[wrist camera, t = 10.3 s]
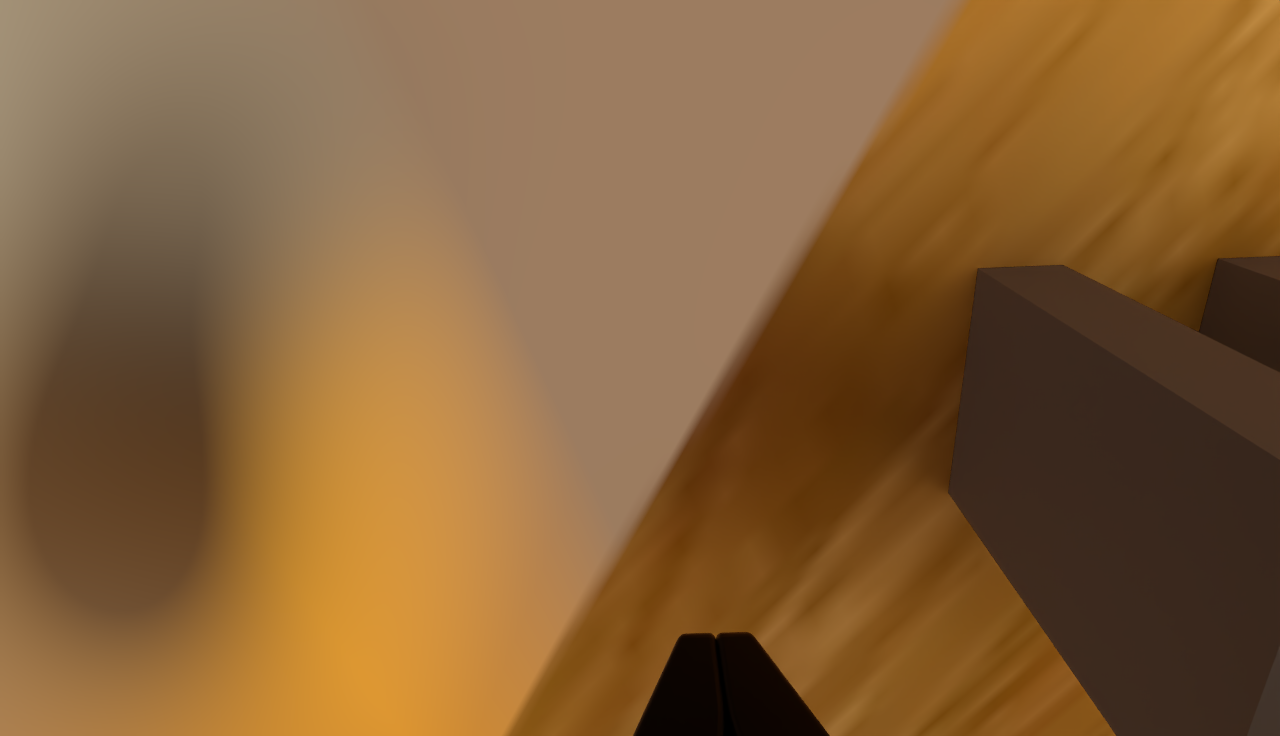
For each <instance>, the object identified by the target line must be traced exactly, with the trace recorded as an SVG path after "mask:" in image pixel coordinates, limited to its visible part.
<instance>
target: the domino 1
mask: <svg viewBox="0 0 1280 736" xmlns="http://www.w3.org/2000/svg"><path fill="white" fill-rule="evenodd" d="M948 493H949V495H950V496H951V497H952V499H953V500H954V502H955V503H956V505H957V506H958V508H959V509H960V510H961V512H962V513H963V515H964V516H965V518H966V519H967V521H968V522H969V523H970V525H971V526H972V528H973V529H974V531H975V532H976V534H977V535H978V536H979V538H980V539H981V541H982V542H983V544H984V545H985V547H986V548H987V549H988V551H989V552H990V554H991V555H992V557H993V558H994V559H995V561H996V562H997V564H998V565H999V567H1000V568H1001V570H1002V571H1003V572H1004V574H1005V575H1006V577H1007V578H1008V580H1009V581H1010V583H1011V584H1012V585H1013V587H1014V588H1015V590H1016V591H1017V593H1018V594H1019V596H1020V597H1021V598H1022V600H1023V601H1024V603H1025V604H1026V606H1027V607H1028V609H1029V610H1030V611H1031V613H1032V614H1033V616H1034V617H1035V619H1036V620H1037V622H1038V623H1039V624H1040V626H1041V627H1042V629H1043V630H1044V632H1045V633H1046V635H1047V636H1048V637H1049V639H1050V640H1051V642H1052V643H1053V645H1054V646H1055V648H1056V649H1057V650H1058V652H1059V653H1060V655H1061V656H1062V658H1063V659H1064V661H1065V662H1066V663H1067V665H1068V666H1069V668H1070V669H1071V671H1072V672H1073V674H1074V675H1075V676H1076V678H1077V679H1078V681H1079V682H1080V684H1081V685H1082V686H1083V688H1084V689H1085V691H1086V692H1087V694H1088V695H1089V697H1090V698H1091V699H1092V701H1093V702H1094V704H1095V705H1096V707H1097V708H1098V710H1099V711H1100V712H1101V714H1102V715H1103V717H1104V718H1105V720H1106V721H1107V723H1108V724H1109V725H1110V727H1111V728H1112V730H1113V731H1114V733H1115V734H1116V736H1280V372H1278V371H1276V370H1274V369H1272V368H1270V367H1268V366H1265V365H1263V364H1261V363H1259V362H1257V361H1255V360H1253V359H1251V358H1249V357H1247V356H1245V355H1243V354H1241V353H1239V352H1237V351H1235V350H1233V349H1231V348H1229V347H1227V346H1225V345H1223V344H1221V343H1219V342H1217V341H1215V340H1213V339H1211V338H1209V337H1207V336H1205V335H1203V334H1201V333H1199V332H1197V331H1195V330H1193V329H1191V328H1189V327H1187V326H1185V325H1183V324H1181V323H1179V322H1177V321H1175V320H1173V319H1171V318H1169V317H1167V316H1165V315H1163V314H1161V313H1159V312H1157V311H1155V310H1153V309H1151V308H1149V307H1147V306H1145V305H1142V304H1140V303H1138V302H1136V301H1134V300H1132V299H1130V298H1128V297H1126V296H1124V295H1122V294H1120V293H1118V292H1116V291H1114V290H1112V289H1110V288H1108V287H1106V286H1104V285H1102V284H1100V283H1098V282H1096V281H1094V280H1092V279H1090V278H1088V277H1086V276H1084V275H1082V274H1080V273H1078V272H1076V271H1074V270H1072V269H1070V268H1068V267H1066V266H1064V265H1050V266H1025V267H1001V268H978V272H977V279H976V287H975V295H974V302H973V310H972V317H971V325H970V332H969V340H968V348H967V355H966V363H965V370H964V378H963V385H962V393H961V401H960V408H959V416H958V423H957V431H956V438H955V446H954V454H953V461H952V469H951V476H950V484H949V491H948Z"/></svg>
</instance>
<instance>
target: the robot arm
mask: <svg viewBox="0 0 1280 736" xmlns="http://www.w3.org/2000/svg"><path fill="white" fill-rule="evenodd" d="M633 736H830V735H829V734H828V733H827V731H826V730H825V729H824V728H823V726H822V725H821V724H820V722H819V721H818V720H817V718H816V717H815V716H814V714H813V713H812V712H811V710H810V709H809V708H808V706H807V705H806V704H805V703H804V701H803V700H802V699H801V697H800V696H799V695H798V693H797V692H796V691H795V689H794V688H793V687H792V685H791V684H790V683H789V682H788V680H787V679H786V678H785V676H784V675H783V674H782V672H781V671H780V670H779V668H778V667H777V666H776V664H775V663H774V662H773V661H772V659H771V658H770V657H769V655H768V654H767V653H766V651H765V650H764V649H763V647H762V646H761V645H760V643H759V642H758V641H757V640H756V638H755V637H754V636H753V635H752V634H750V633H748V632H731V633H720V634H718V635H717V637H716V639H715V637H714V635H713V634H711V633H691V634H682V635H681V636H680V637H679V638H678V640H677V642H676V644H675V646H674V648H673V650H672V652H671V655H670V657H669V659H668V661H667V663H666V665H665V668H664V670H663V672H662V674H661V676H660V678H659V681H658V683H657V685H656V687H655V689H654V691H653V694H652V696H651V698H650V700H649V702H648V704H647V707H646V709H645V711H644V713H643V715H642V717H641V720H640V722H639V724H638V726H637V728H636V730H635V733H634V735H633Z"/></svg>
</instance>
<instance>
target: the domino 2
mask: <svg viewBox="0 0 1280 736" xmlns="http://www.w3.org/2000/svg"><path fill="white" fill-rule="evenodd" d="M1199 333H1201V334H1203V335H1205V336H1207V337H1209V338H1211V339H1213V340H1215V341H1217V342H1219V343H1221V344H1223V345H1225V346H1227V347H1229V348H1231V349H1233V350H1235V351H1237V352H1239V353H1241V354H1243V355H1245V356H1247V357H1249V358H1251V359H1253V360H1255V361H1257V362H1259V363H1261V364H1263V365H1265V366H1268V367H1270V368H1272V369H1274V370H1276V371H1278V372H1280V256H1273V257H1248V258H1223V259H1218V261H1217V265H1216V269H1215V273H1214V276H1213V280H1212V284H1211V288H1210V292H1209V296H1208V300H1207V304H1206V307H1205V311H1204V315H1203V319H1202V323H1201V327H1200V331H1199Z"/></svg>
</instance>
